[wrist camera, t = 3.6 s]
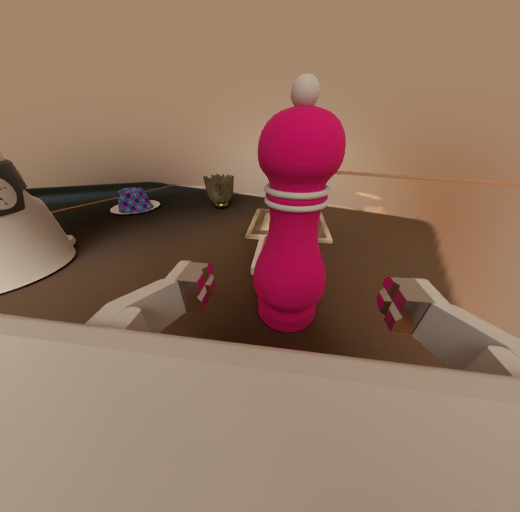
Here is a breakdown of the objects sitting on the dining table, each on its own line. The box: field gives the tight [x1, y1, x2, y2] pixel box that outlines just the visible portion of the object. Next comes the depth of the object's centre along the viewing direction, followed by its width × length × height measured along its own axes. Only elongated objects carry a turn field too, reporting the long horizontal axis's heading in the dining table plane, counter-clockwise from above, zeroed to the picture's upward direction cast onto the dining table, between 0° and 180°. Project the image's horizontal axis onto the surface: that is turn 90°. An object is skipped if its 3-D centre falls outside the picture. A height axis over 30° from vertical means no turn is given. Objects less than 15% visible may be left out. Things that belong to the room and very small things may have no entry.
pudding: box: [110, 187, 160, 214], centre depth 53 cm, size 12×12×5 cm
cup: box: [203, 174, 234, 209], centre depth 52 cm, size 8×7×8 cm
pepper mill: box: [253, 73, 346, 332], centre depth 17 cm, size 7×7×20 cm
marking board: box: [245, 209, 333, 244], centre depth 43 cm, size 16×16×1 cm
